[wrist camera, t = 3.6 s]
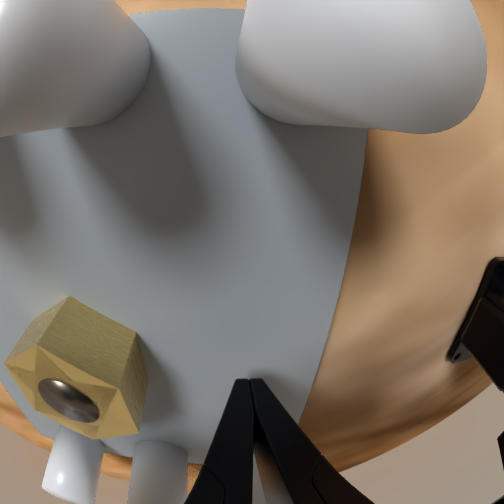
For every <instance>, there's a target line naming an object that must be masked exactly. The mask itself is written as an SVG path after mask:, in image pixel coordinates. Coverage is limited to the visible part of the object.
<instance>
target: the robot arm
mask: <svg viewBox="0 0 504 504" xmlns="http://www.w3.org/2000/svg"><path fill="white" fill-rule="evenodd" d="M472 356H473V357H474V358H475V360H476V361H477V362H478V363H479V365H480V366H481V367H482V368H483V370H484V371H485V372H486V373H487V375H488V376H489V377H490V379H491V380H492V381H493V383H494V384H495V385H496V386H497V388H498V389H499V390H500V391H503V393H504V257H495V258H494V259H493V260H492V261H491V262H490V265H489V267H488V270H487V272H486V275H485V278H484V280H483V283H482V285H481V288H480V290H479V293H478V295H477V297H476V300H475V302H474V304H473V307H472V309H471V311H470V313H469V315H468V317H467V320H466V322H465V324H464V326H463V328H462V330H461V332H460V334H459V336H458V337H457V339H456V341H455V343H454V345H453V347H452V349H451V350H450V352H449V354H448V359H449V360H450V362H451V363H455V362H458V361H461V360H464V359H467V358H470V357H472ZM497 440H498V444H499V448H500V453H501V458H502V463H503V468H504V432H503V433H502V434H501V435H500V436H499V437H498V439H497ZM253 454H254V455H255V460H256V464H257V468H258V472H259V476H260V480H261V484H262V488H263V492H264V496H265V500H266V504H374V503H373V502H372V501H371V500H369V499H368V498H367V497H366V496H364V495H363V494H362V493H361V492H359V491H358V490H357V489H356V488H355V487H354V486H352V485H351V484H350V483H349V482H348V481H347V480H346V479H345V478H343V477H342V476H341V475H340V474H339V473H338V472H337V471H336V470H335V468H334V467H333V466H332V465H331V464H330V463H329V462H328V461H327V459H326V458H325V457H324V456H323V455H321V453H320V451H319V450H318V449H317V448H316V446H315V445H314V444H313V443H312V442H311V440H310V439H309V438H308V437H307V435H306V434H305V433H304V432H303V431H302V429H301V428H300V427H299V425H298V424H297V423H296V422H295V420H294V419H293V418H292V417H291V415H290V414H289V413H288V411H287V410H286V409H285V408H284V406H283V405H282V404H281V402H280V401H279V400H278V398H277V397H276V396H275V394H274V393H273V392H272V390H271V389H270V388H269V386H268V385H267V384H266V382H265V381H264V380H263V379H262V378H250V379H247V378H237V379H236V380H235V382H234V384H233V387H232V390H231V392H230V395H229V398H228V401H227V403H226V406H225V409H224V411H223V414H222V417H221V419H220V422H219V424H218V427H217V430H216V432H215V435H214V437H213V440H212V443H211V445H210V448H209V450H208V453H207V455H206V458H205V460H204V465H202V468H201V470H200V473H199V475H198V477H197V479H196V482H195V484H194V486H193V488H192V490H191V492H190V493H189V495H188V497H187V499H186V501H185V502H184V504H252V495H253ZM492 504H504V495H503V496H502V497H500V498H499V499H497V500H496V501H495V502H493V503H492Z"/></svg>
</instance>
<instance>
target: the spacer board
mask: <svg viewBox="0 0 504 504" xmlns="http://www.w3.org/2000/svg"><path fill="white" fill-rule="evenodd" d="M486 74H487V52H486V45H485V39H484V35H483V31H482V28H481V25H480V22H479V19H478V17H477V14H476V12H475V10H474V8H473V6H472V4H471V2H470V0H248V1H247V6H246V10H241V9H212V8H205V9H177V10H164V11H153V12H145V13H138V14H131V15H127V14H126V13H125V12H124V11H123V10H122V8H121V7H120V6H119V5H118V4H117V3H116V2H115V1H114V0H0V381H1V383H2V384H3V386H4V387H5V389H6V390H7V392H8V393H9V394H10V396H11V397H12V399H13V400H14V401H15V403H16V404H17V405H18V407H19V408H20V409H21V411H22V412H23V413H24V415H25V416H26V417H27V418H28V420H29V421H30V422H31V423H32V425H33V426H34V427H35V428H36V429H37V430H38V432H39V433H40V434H41V435H43V436H46V437H49V438H52V439H55V440H54V444H53V447H52V450H51V454H50V457H49V460H48V464H47V467H46V471H45V475H44V479H43V483H42V488H43V489H44V490H46V491H47V492H49V493H50V494H52V495H54V496H56V497H58V498H60V499H62V500H65V501H67V502H69V503H72V504H95V497H96V491H97V484H98V478H99V474H100V468H101V463H102V458H103V453H104V452H105V453H110V454H115V455H120V456H126V457H132V458H133V460H132V467H131V475H130V483H129V492H128V502H127V504H184V502H185V501H186V499H187V481H188V463H192V464H204V460H205V458H206V455H207V453H208V450H209V448H210V445H211V443H212V440H213V437H214V435H215V432H216V430H217V427H218V424H219V422H220V419H221V417H222V414H223V411H224V409H225V406H226V403H227V401H228V398H229V395H230V392H231V390H232V387H233V384H234V382H235V380H236V379H237V378H247V379H250V378H262V379H263V380H264V381H265V382H266V384H267V385H268V386H269V388H270V389H271V390H272V392H273V393H274V394H275V396H276V397H277V398H278V400H279V401H280V402H281V404H282V405H283V406H284V408H285V409H286V410H287V411H288V413H289V414H290V415H291V417H292V418H293V419H294V420H295V422H296V423H297V424H299V421H300V418H301V416H302V413H303V410H304V407H305V405H306V402H307V399H308V396H309V393H310V390H311V387H312V385H313V382H314V379H315V376H316V372H317V369H318V366H319V363H320V360H321V357H322V353H323V350H324V347H325V343H326V340H327V337H328V333H329V330H330V326H331V322H332V319H333V315H334V311H335V308H336V304H337V300H338V296H339V292H340V288H341V284H342V279H343V275H344V271H345V266H346V262H347V257H348V253H349V248H350V243H351V238H352V233H353V228H354V222H355V217H356V211H357V206H358V200H359V193H360V187H361V180H362V174H363V166H364V159H365V151H366V142H367V133H368V128H370V129H380V130H389V131H398V132H406V133H415V134H429V133H438V132H441V131H444V130H447V129H450V128H452V127H454V126H456V125H458V124H459V123H460V122H462V121H463V120H464V119H465V118H467V117H468V115H469V114H470V113H471V112H472V111H473V110H474V108H475V106H476V105H477V103H478V101H479V100H480V97H481V95H482V92H483V89H484V85H485V81H486ZM68 296H71V297H73V298H74V299H76V300H78V301H80V302H81V303H83V304H85V305H87V306H88V307H90V308H92V309H94V310H95V311H97V312H99V313H101V314H103V315H105V316H106V317H108V318H110V319H112V320H114V321H116V322H118V323H120V324H122V325H124V326H126V327H128V328H130V329H132V330H134V331H136V333H137V337H138V342H139V346H140V350H141V354H142V358H143V362H144V366H145V370H146V373H147V377H148V380H149V382H148V387H147V392H146V397H145V402H144V408H143V413H142V419H141V425H140V431H139V433H138V434H132V435H125V436H118V437H111V438H103V439H91V438H89V437H86V436H84V435H82V434H80V433H78V432H76V431H73V430H71V429H69V428H67V427H65V426H63V425H61V424H59V423H58V422H56V421H54V420H52V419H50V418H48V417H46V416H45V415H43V414H41V413H39V412H38V411H36V410H34V408H33V407H32V406H31V404H30V403H29V401H28V400H27V398H26V397H25V396H24V394H23V393H22V391H21V390H20V388H19V387H18V385H17V384H16V382H15V380H14V379H13V377H12V376H11V374H10V372H9V371H8V369H7V367H6V365H5V364H4V362H5V361H6V359H7V357H8V356H9V354H10V353H11V351H12V350H13V348H14V347H15V345H16V344H17V342H18V341H19V339H20V338H21V336H22V335H23V333H24V332H25V330H26V329H27V327H28V326H29V325H30V323H31V322H32V320H33V319H35V318H36V317H38V316H39V315H41V314H42V313H44V312H45V311H47V310H48V309H50V308H51V307H53V306H54V305H56V304H57V303H59V302H60V301H62V300H63V299H65V298H66V297H68ZM252 504H266V500H265V496H264V492H263V488H262V484H261V480H260V476H259V472H258V468H257V464H256V460H255V455H254V454H253V495H252Z"/></svg>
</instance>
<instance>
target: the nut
mask: <svg viewBox="0 0 504 504" xmlns="http://www.w3.org/2000/svg"><path fill="white" fill-rule="evenodd" d="M4 364H5V365H6V367H7V369H8V371H9V372H10V374H11V376H12V377H13V379H14V380H15V382H16V384H17V385H18V387H19V388H20V390H21V391H22V393H23V394H24V396H25V397H26V398H27V400H28V401H29V403H30V404H31V406H32V407H33V408H34V410H36V411H38V412H39V413H41V414H43V415H45V416H46V417H48V418H50V419H52V420H54V421H56V422H58V423H59V424H61V425H63V426H65V427H67V428H69V429H71V430H73V431H76V432H78V433H80V434H82V435H84V436H86V437H89V438H91V439H103V438H111V437H118V436H125V435H132V434H138V433H139V431H140V425H141V419H142V413H143V408H144V402H145V397H146V392H147V387H148V382H149V380H148V377H147V373H146V370H145V366H144V362H143V358H142V354H141V350H140V346H139V342H138V337H137V333H136V331H134V330H132V329H130V328H128V327H126V326H124V325H122V324H120V323H118V322H116V321H114V320H112V319H110V318H108V317H106V316H105V315H103V314H101V313H99V312H97V311H95V310H94V309H92V308H90V307H88V306H87V305H85V304H83V303H81V302H80V301H78V300H76V299H74V298H73V297H71V296H68V297H66V298H65V299H63V300H62V301H60V302H59V303H57V304H56V305H54V306H53V307H51V308H50V309H48V310H47V311H45V312H44V313H42V314H41V315H39V316H38V317H36V318H35V319H33V320H32V322H31V323H30V325H29V326H28V327H27V329H26V330H25V332H24V333H23V335H22V336H21V338H20V339H19V341H18V342H17V344H16V345H15V347H14V348H13V350H12V351H11V353H10V354H9V356H8V357H7V359H6V361H5V362H4Z"/></svg>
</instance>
